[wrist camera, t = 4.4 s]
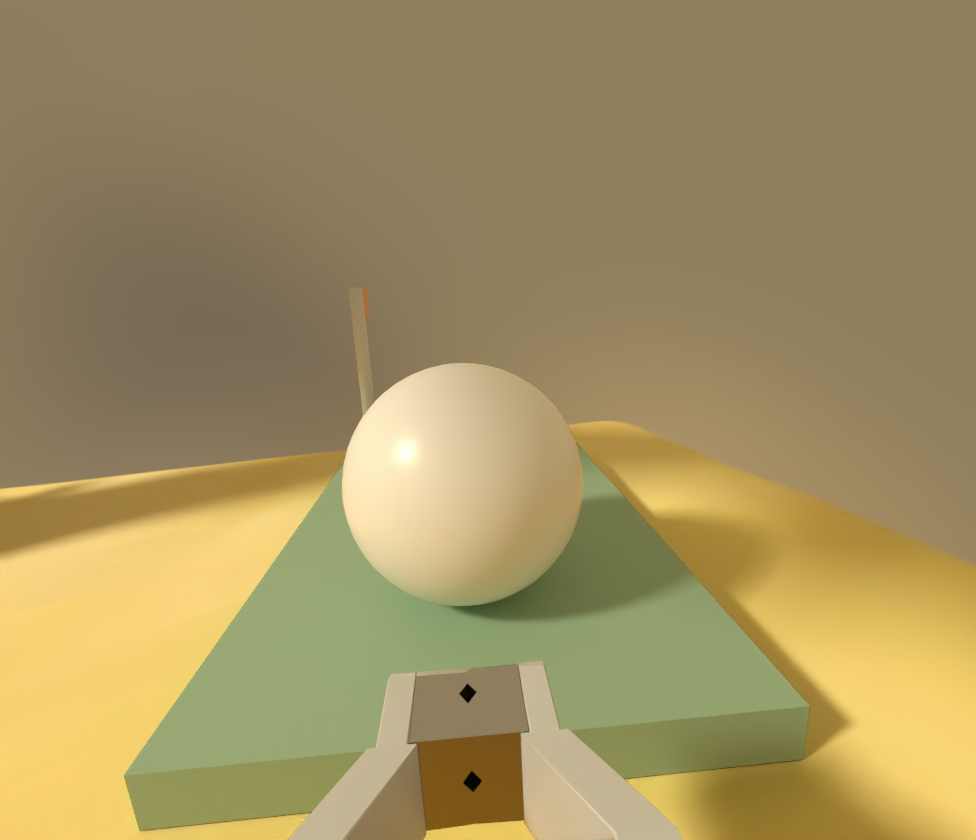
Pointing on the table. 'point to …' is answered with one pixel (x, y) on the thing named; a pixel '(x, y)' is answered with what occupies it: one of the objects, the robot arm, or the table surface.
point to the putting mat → (460, 663)
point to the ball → (462, 484)
